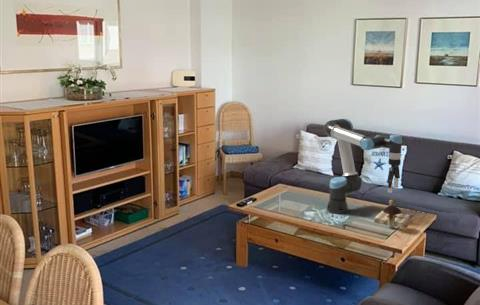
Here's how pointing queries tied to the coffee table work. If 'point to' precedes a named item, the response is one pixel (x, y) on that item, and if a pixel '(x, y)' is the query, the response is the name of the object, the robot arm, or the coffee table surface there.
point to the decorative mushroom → (392, 214)
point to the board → (384, 217)
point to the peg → (392, 202)
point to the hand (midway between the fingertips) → (392, 190)
